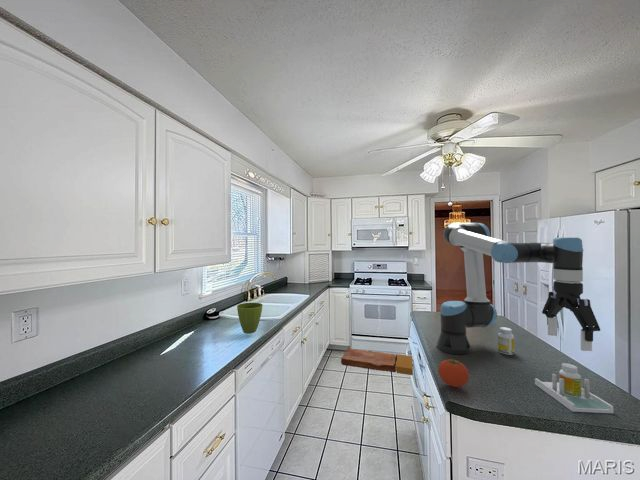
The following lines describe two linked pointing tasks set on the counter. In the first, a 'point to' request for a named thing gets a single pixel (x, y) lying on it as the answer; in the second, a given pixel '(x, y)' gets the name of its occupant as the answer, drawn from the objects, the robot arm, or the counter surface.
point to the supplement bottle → (571, 380)
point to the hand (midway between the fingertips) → (568, 342)
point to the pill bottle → (506, 341)
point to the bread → (378, 361)
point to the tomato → (453, 373)
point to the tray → (582, 404)
